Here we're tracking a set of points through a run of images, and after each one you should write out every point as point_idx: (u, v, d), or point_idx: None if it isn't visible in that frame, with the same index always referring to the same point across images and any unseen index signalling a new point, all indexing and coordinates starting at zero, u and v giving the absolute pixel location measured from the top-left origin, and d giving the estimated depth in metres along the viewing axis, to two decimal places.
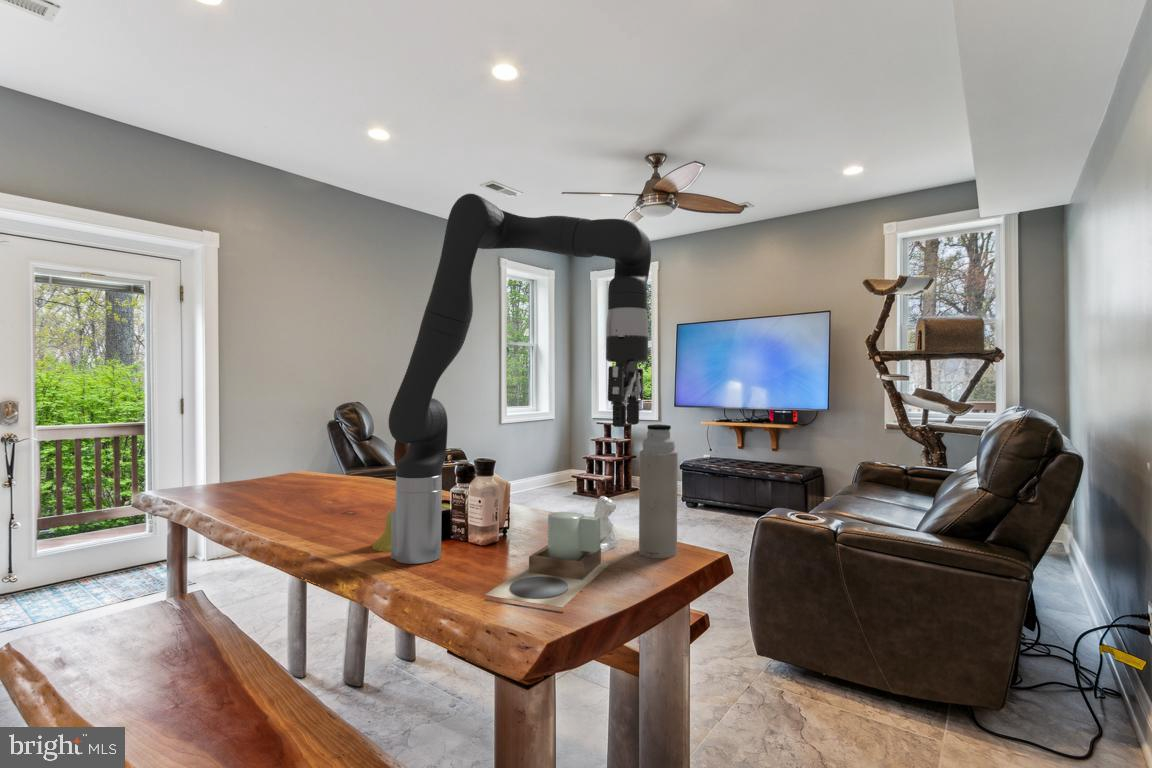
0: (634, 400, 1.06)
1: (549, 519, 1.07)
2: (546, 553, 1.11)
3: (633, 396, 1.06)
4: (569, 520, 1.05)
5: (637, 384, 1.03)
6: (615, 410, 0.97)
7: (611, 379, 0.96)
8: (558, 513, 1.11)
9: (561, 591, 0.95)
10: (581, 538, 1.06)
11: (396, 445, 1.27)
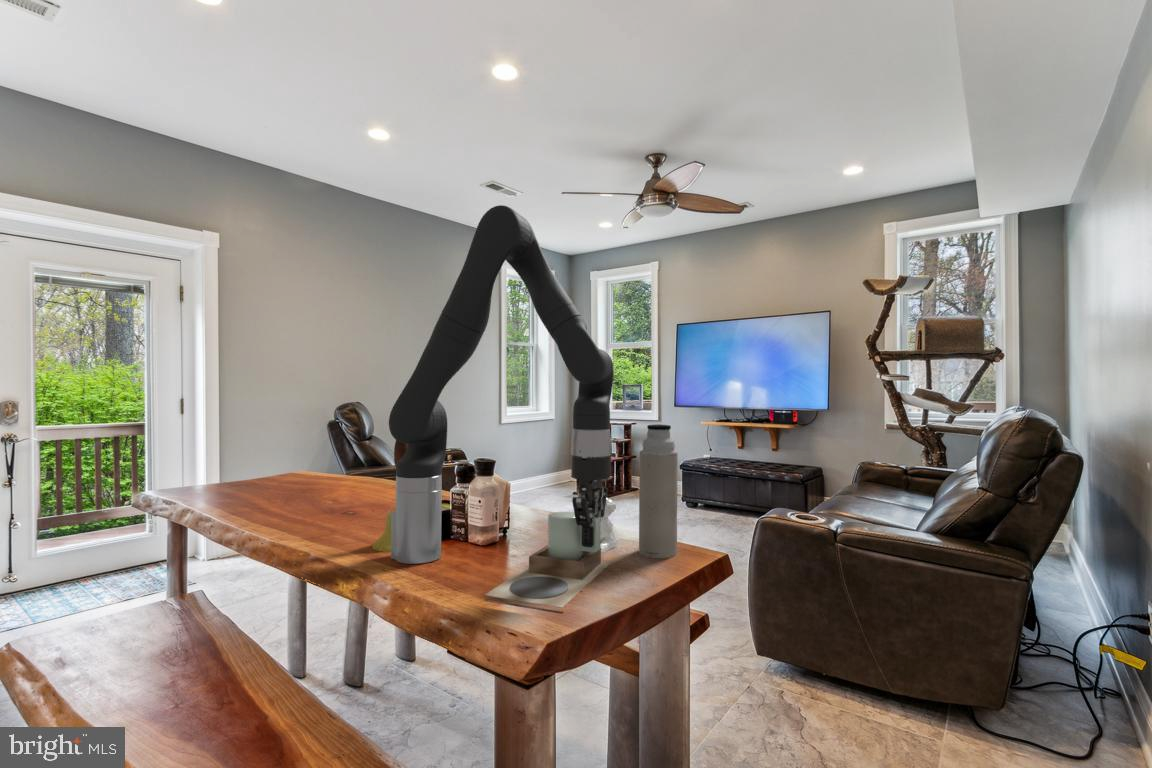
0: None
1: (549, 519, 1.07)
2: (546, 553, 1.11)
3: None
4: (569, 520, 1.05)
5: (600, 499, 1.07)
6: (584, 532, 1.05)
7: (576, 510, 1.02)
8: (558, 513, 1.11)
9: (561, 591, 0.95)
10: (581, 538, 1.06)
11: (396, 445, 1.27)
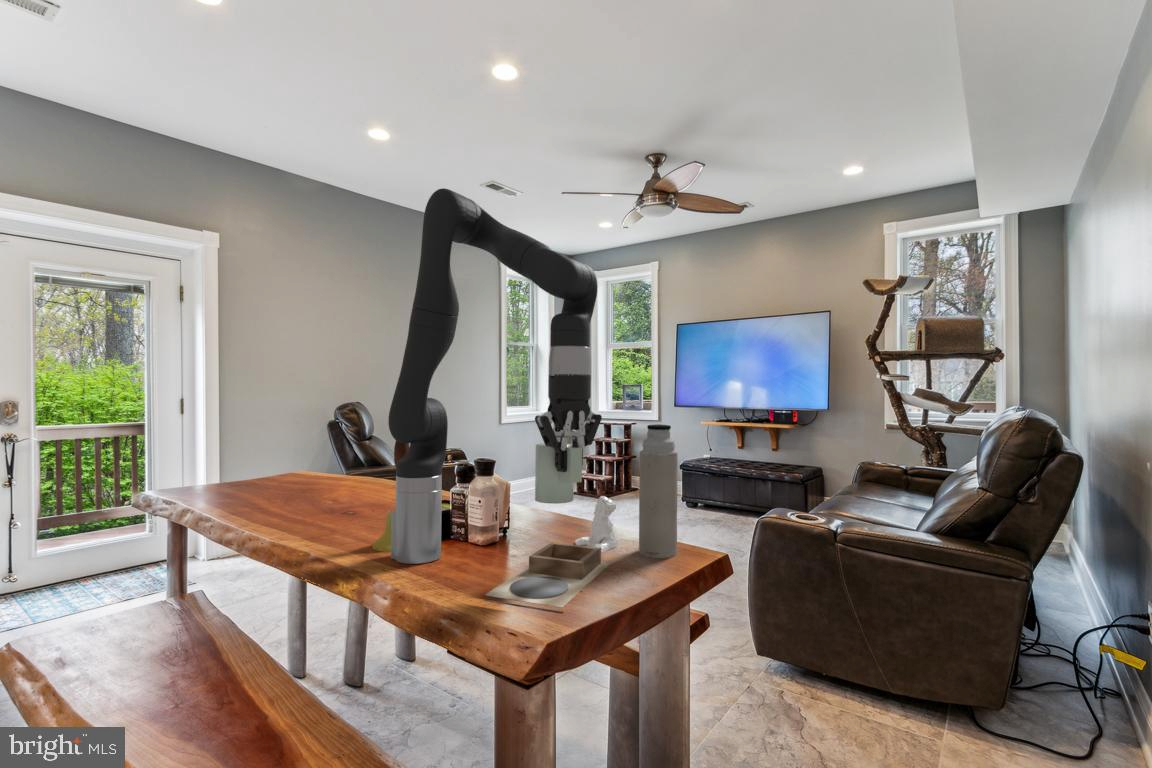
0: (576, 444, 1.01)
1: None
2: (546, 553, 1.11)
3: None
4: (547, 447, 1.00)
5: (578, 423, 0.99)
6: (556, 455, 0.99)
7: (540, 429, 0.97)
8: None
9: (561, 591, 0.95)
10: None
11: (396, 445, 1.27)
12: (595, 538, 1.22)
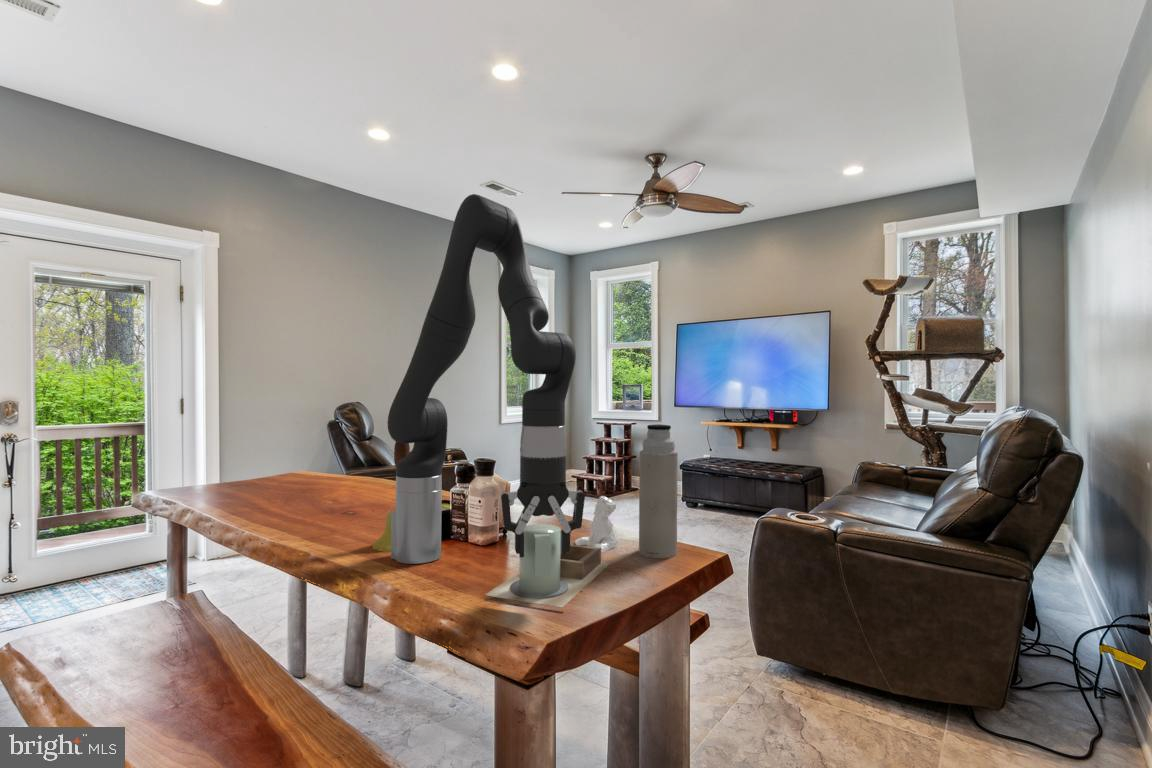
0: None
1: None
2: None
3: (567, 522, 0.93)
4: None
5: (552, 509, 0.91)
6: None
7: None
8: (545, 526, 0.99)
9: (561, 591, 0.95)
10: (534, 557, 0.93)
11: (396, 445, 1.27)
12: (595, 538, 1.22)
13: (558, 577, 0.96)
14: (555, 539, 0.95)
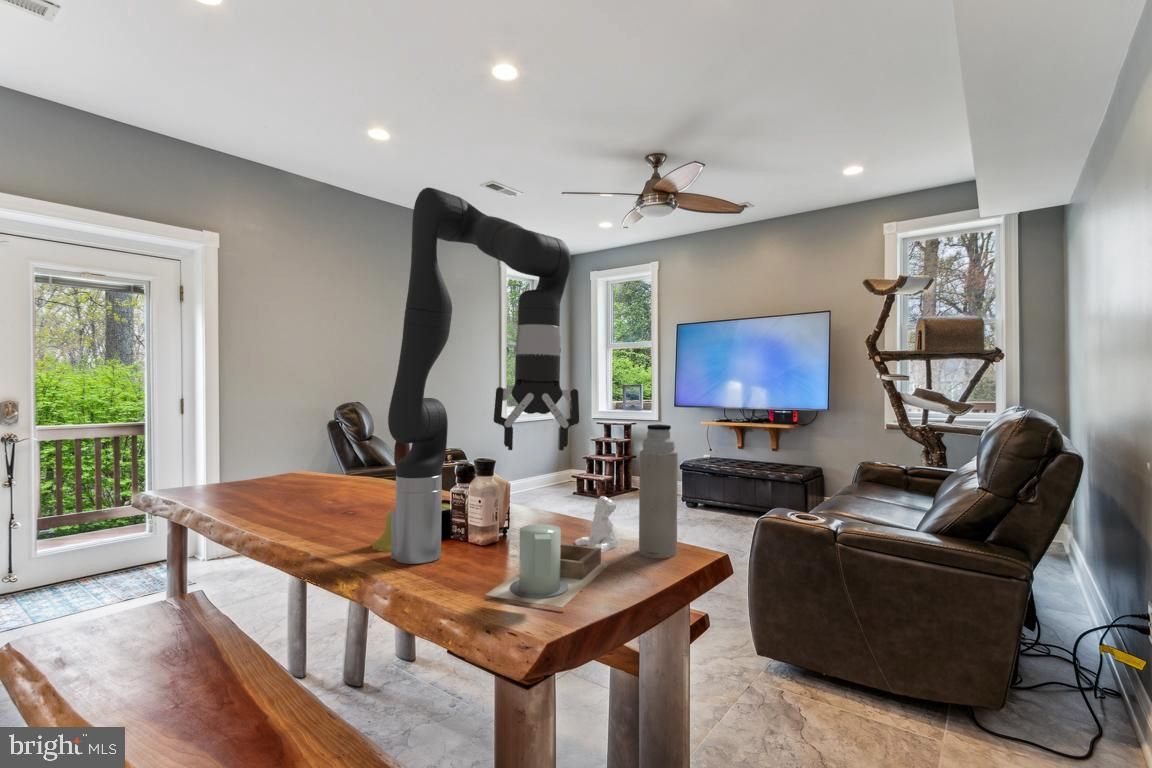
0: None
1: None
2: None
3: (565, 419, 0.96)
4: (523, 533, 0.95)
5: (547, 406, 0.94)
6: None
7: None
8: (545, 526, 0.99)
9: (561, 591, 0.95)
10: (534, 557, 0.93)
11: (396, 445, 1.27)
12: (595, 538, 1.22)
13: (558, 577, 0.96)
14: (555, 539, 0.95)
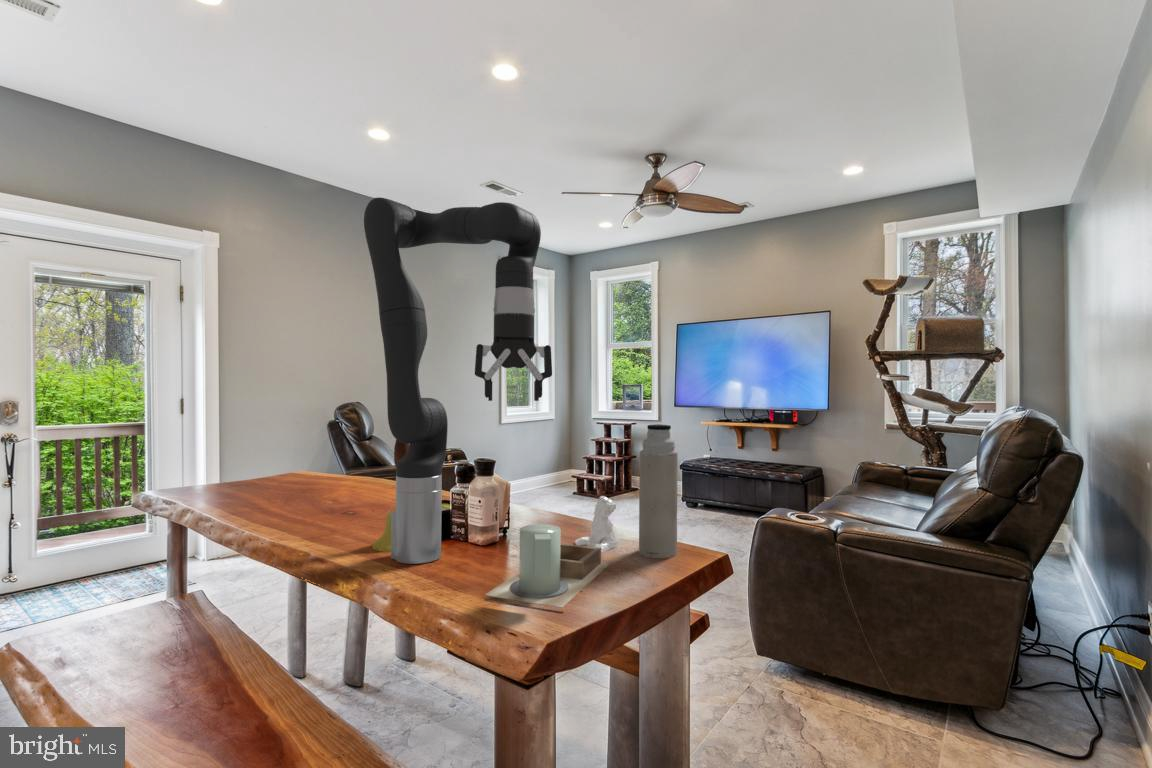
0: None
1: None
2: None
3: None
4: (523, 533, 0.95)
5: (523, 360, 1.04)
6: None
7: None
8: (545, 526, 0.99)
9: (561, 591, 0.95)
10: (534, 557, 0.93)
11: (396, 445, 1.27)
12: (595, 538, 1.22)
13: (558, 577, 0.96)
14: (555, 539, 0.95)
